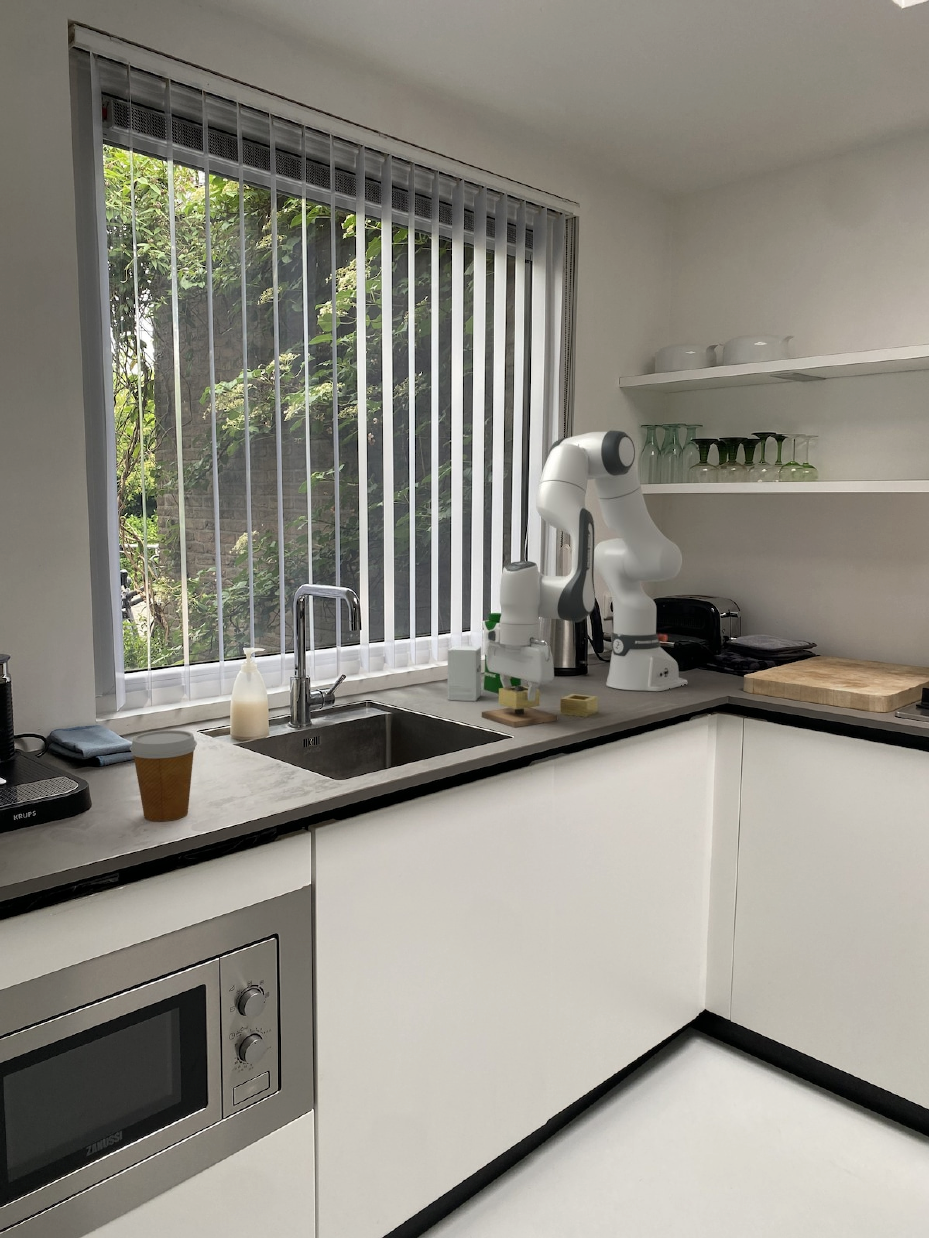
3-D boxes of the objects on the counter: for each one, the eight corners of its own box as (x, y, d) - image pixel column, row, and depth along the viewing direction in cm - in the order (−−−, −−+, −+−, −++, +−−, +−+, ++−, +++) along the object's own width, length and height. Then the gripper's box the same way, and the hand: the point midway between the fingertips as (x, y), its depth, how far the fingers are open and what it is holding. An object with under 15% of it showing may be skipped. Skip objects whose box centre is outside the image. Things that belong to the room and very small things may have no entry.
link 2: (572, 708, 212) (572, 693, 211) (597, 711, 208) (597, 696, 208) (560, 714, 206) (560, 698, 206) (586, 717, 203) (586, 701, 203)
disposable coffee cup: (158, 802, 142) (155, 727, 141) (211, 808, 140) (209, 731, 138) (118, 821, 133) (115, 742, 132) (174, 828, 130) (171, 746, 129)
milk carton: (478, 689, 236) (478, 612, 234) (506, 685, 241) (507, 610, 239) (498, 694, 229) (499, 615, 226) (526, 690, 234) (527, 613, 231)
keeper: (523, 710, 210) (524, 680, 209) (557, 720, 200) (557, 688, 199) (481, 717, 203) (481, 685, 202) (514, 727, 193) (514, 694, 192)
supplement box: (476, 701, 220) (476, 650, 219) (446, 700, 222) (446, 649, 220) (481, 695, 227) (482, 645, 226) (453, 694, 229) (453, 645, 227)
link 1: (521, 701, 205) (521, 685, 205) (539, 705, 200) (539, 689, 200) (498, 704, 202) (498, 688, 202) (516, 709, 197) (516, 693, 196)
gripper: (561, 639, 193) (560, 703, 194) (503, 629, 209) (503, 688, 211) (538, 642, 189) (537, 707, 191) (481, 631, 206) (481, 691, 207)
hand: (519, 697), depth 201 cm, fingers closed on link 1, 6 cm apart
